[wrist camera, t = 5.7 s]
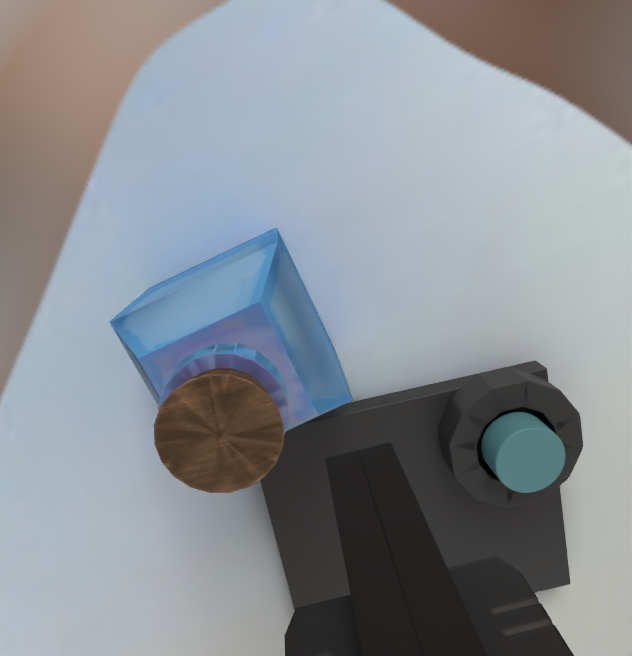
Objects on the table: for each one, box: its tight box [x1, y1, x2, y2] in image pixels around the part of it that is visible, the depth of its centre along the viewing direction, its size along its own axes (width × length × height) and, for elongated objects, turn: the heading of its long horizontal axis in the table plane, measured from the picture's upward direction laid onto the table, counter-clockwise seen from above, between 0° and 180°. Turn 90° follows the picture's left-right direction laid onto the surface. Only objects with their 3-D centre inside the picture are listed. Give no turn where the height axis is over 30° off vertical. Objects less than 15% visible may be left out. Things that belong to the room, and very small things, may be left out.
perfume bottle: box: [110, 228, 353, 493], centre depth 20 cm, size 6×6×12 cm
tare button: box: [481, 412, 565, 493], centre depth 24 cm, size 3×3×2 cm
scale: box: [260, 361, 583, 609], centre depth 27 cm, size 12×14×3 cm
